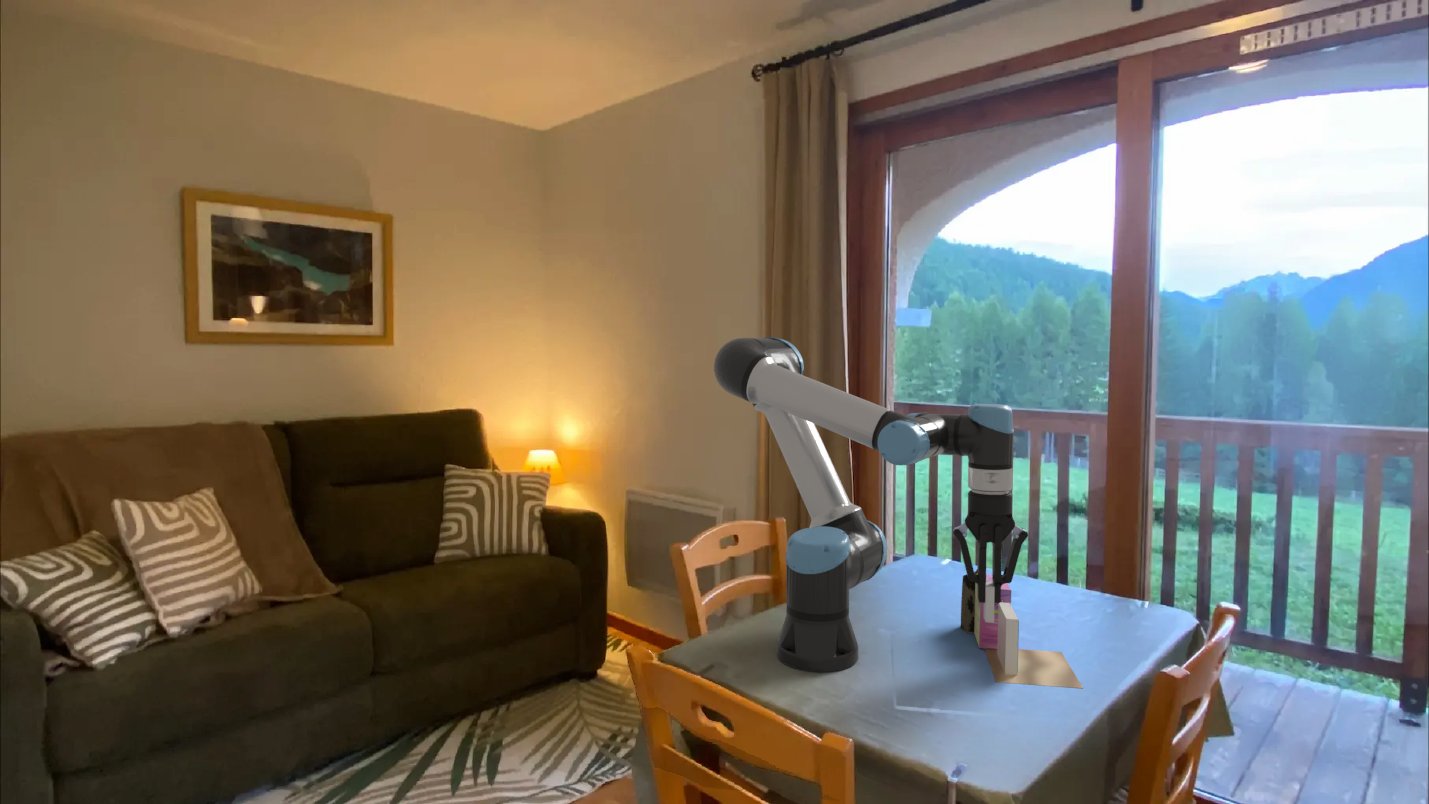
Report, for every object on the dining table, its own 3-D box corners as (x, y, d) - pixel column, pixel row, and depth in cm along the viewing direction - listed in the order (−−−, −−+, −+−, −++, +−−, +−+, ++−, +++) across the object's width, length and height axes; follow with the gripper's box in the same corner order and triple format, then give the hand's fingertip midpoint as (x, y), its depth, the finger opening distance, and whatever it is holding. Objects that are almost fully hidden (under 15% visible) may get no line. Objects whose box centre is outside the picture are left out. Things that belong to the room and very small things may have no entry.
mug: (984, 637, 158) (985, 577, 158) (956, 632, 162) (957, 573, 161) (995, 626, 165) (996, 569, 164) (968, 621, 168) (969, 565, 167)
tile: (1005, 674, 140) (1006, 618, 140) (997, 654, 149) (998, 602, 148) (1017, 675, 140) (1019, 619, 139) (1009, 655, 149) (1010, 602, 148)
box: (1010, 651, 151) (1011, 589, 150) (978, 648, 152) (979, 587, 151) (1002, 632, 161) (1003, 574, 160) (972, 630, 162) (973, 573, 161)
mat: (996, 684, 137) (996, 681, 137) (983, 649, 153) (983, 646, 153) (1083, 691, 135) (1083, 688, 135) (1061, 654, 150) (1061, 651, 150)
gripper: (954, 493, 140) (953, 624, 142) (1032, 495, 138) (1030, 629, 139) (950, 486, 148) (949, 611, 149) (1024, 487, 145) (1023, 614, 147)
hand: (988, 619), depth 144 cm, fingers closed
